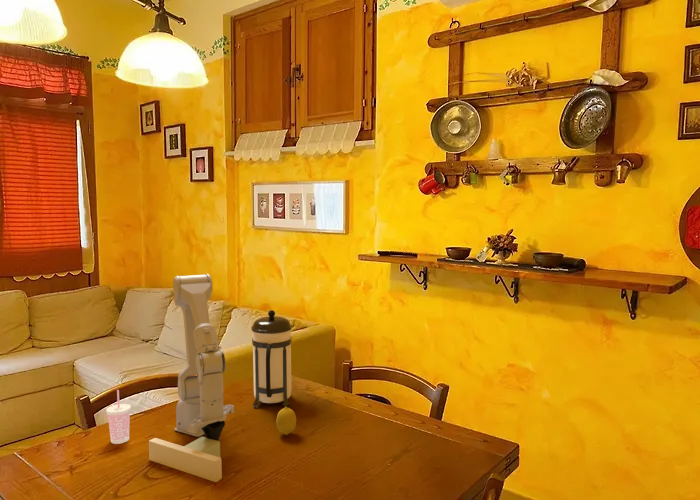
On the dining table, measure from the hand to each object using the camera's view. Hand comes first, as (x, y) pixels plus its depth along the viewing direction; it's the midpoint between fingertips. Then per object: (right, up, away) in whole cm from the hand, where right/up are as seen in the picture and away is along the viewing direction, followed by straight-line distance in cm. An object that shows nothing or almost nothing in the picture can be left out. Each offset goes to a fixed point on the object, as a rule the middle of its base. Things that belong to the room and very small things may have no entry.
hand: (213, 449), depth 136 cm
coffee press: (+11, +2, +34) cm, 36 cm away
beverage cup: (-27, -1, +8) cm, 29 cm away
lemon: (+18, -1, +11) cm, 21 cm away
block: (-2, -2, -4) cm, 5 cm away
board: (-5, -2, -7) cm, 9 cm away
